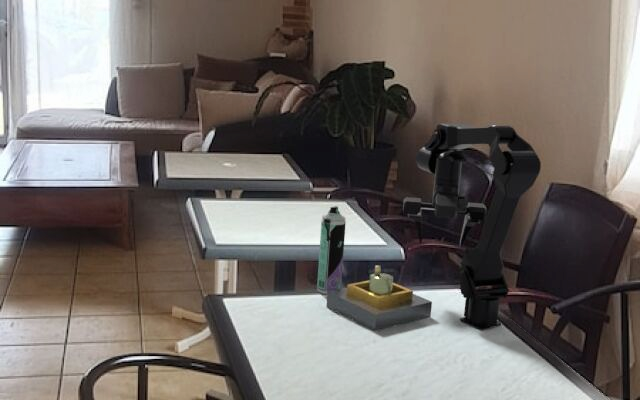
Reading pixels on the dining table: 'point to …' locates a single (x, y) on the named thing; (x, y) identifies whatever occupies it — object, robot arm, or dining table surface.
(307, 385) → the dining table surface
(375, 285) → the spout can
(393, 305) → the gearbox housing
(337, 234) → the spray can
